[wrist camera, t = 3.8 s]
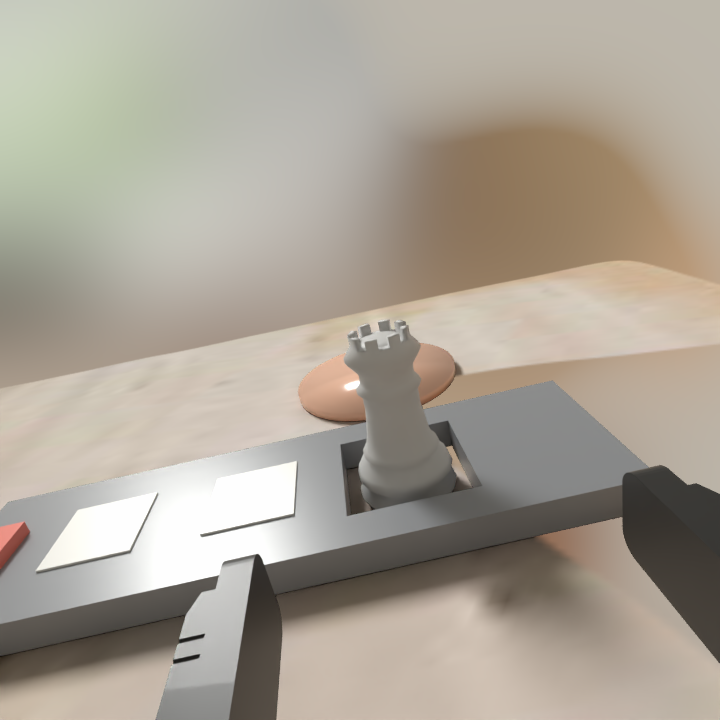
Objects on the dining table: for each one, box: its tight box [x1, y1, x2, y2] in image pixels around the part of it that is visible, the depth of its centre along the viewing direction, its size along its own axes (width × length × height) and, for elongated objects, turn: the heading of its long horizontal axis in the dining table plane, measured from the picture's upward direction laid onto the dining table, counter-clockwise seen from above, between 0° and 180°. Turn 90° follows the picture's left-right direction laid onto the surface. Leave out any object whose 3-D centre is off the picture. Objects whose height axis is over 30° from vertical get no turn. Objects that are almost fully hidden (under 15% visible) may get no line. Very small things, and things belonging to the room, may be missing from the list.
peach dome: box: [298, 343, 455, 421], centre depth 35 cm, size 11×11×1 cm
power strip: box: [0, 381, 649, 656], centre depth 23 cm, size 30×9×2 cm, turn 94°
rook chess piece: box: [343, 319, 456, 509], centre depth 22 cm, size 4×4×8 cm
